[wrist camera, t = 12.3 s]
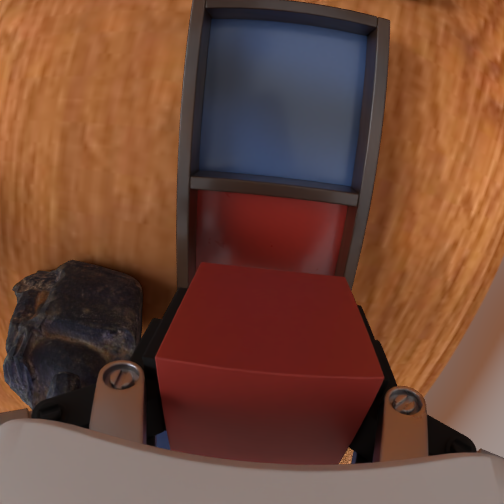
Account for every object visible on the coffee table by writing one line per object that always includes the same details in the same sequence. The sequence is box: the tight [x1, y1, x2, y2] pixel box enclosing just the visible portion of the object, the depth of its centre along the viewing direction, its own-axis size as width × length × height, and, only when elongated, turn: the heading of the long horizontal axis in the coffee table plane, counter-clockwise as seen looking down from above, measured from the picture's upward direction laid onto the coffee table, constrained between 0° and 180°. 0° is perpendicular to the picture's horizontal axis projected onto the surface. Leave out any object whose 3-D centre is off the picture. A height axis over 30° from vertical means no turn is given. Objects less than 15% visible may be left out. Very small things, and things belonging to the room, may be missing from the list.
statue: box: [3, 260, 143, 410], centre depth 12 cm, size 6×12×15 cm, turn 77°
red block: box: [155, 262, 384, 465], centre depth 9 cm, size 5×5×5 cm
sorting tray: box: [176, 0, 390, 290], centre depth 14 cm, size 17×8×2 cm, turn 175°
